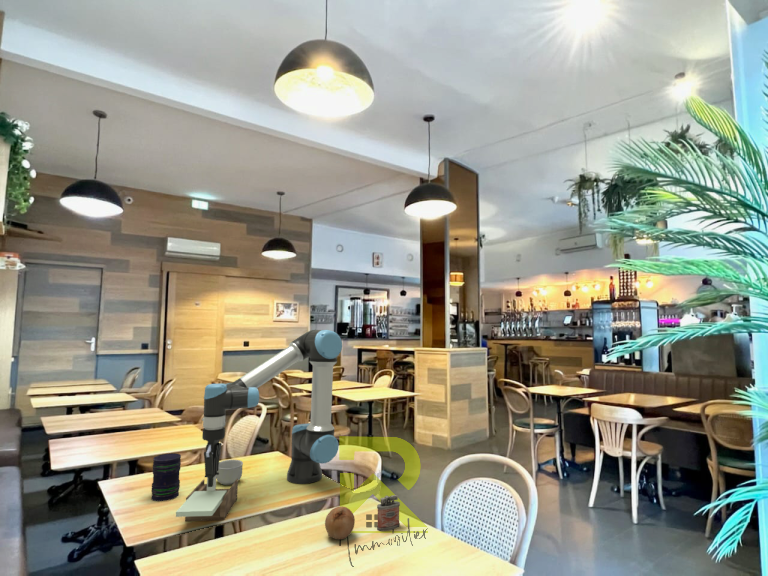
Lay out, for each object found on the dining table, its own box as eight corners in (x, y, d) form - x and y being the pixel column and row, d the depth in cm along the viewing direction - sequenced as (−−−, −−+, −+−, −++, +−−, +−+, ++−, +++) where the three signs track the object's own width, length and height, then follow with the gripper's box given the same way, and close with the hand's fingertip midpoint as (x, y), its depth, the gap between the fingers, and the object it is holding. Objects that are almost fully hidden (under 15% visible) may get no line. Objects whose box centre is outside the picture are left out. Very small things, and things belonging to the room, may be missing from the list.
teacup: (246, 478, 190) (247, 459, 190) (235, 487, 179) (236, 467, 180) (215, 477, 191) (216, 458, 192) (203, 486, 180) (204, 466, 181)
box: (202, 500, 166) (203, 479, 167) (237, 499, 167) (237, 478, 168) (185, 521, 148) (186, 497, 149) (224, 519, 149) (225, 496, 150)
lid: (194, 495, 155) (194, 491, 155) (226, 494, 156) (227, 490, 156) (175, 516, 138) (175, 511, 138) (212, 515, 139) (212, 510, 139)
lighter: (379, 532, 141) (379, 500, 142) (375, 527, 144) (375, 496, 145) (401, 527, 144) (401, 496, 145) (396, 523, 147) (397, 492, 148)
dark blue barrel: (181, 490, 175) (183, 452, 177) (176, 500, 166) (178, 459, 167) (154, 492, 173) (156, 454, 174) (147, 502, 164) (149, 461, 165)
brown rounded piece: (341, 552, 134) (340, 529, 130) (319, 536, 139) (318, 513, 135) (360, 530, 141) (360, 507, 137) (339, 515, 146) (338, 493, 142)
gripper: (209, 423, 164) (206, 488, 162) (197, 431, 151) (193, 502, 149) (229, 423, 165) (226, 488, 163) (219, 431, 152) (216, 502, 150)
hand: (211, 494), depth 156 cm, fingers closed
